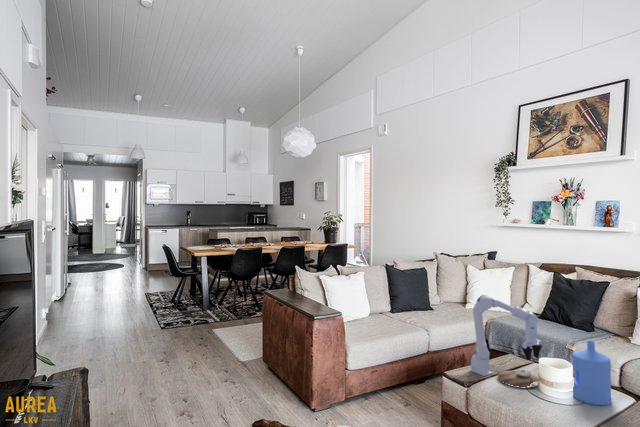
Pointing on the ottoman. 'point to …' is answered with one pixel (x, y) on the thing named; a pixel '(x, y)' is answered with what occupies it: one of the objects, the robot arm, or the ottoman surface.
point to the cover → (523, 373)
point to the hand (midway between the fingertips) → (532, 358)
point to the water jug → (592, 376)
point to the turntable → (515, 379)
